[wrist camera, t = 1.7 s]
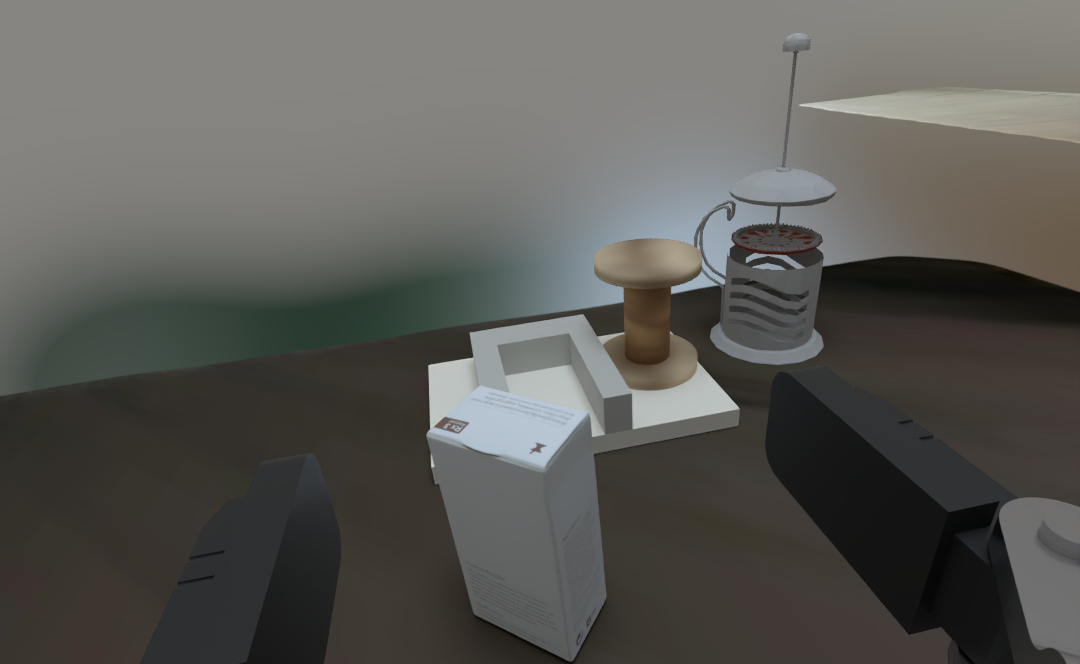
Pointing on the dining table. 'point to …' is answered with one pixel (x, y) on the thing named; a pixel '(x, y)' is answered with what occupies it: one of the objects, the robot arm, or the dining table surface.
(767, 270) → the french press
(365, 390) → the dining table surface
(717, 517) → the dining table surface
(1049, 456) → the dining table surface
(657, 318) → the bobbin
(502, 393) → the skincare box
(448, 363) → the notched board
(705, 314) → the dining table surface
